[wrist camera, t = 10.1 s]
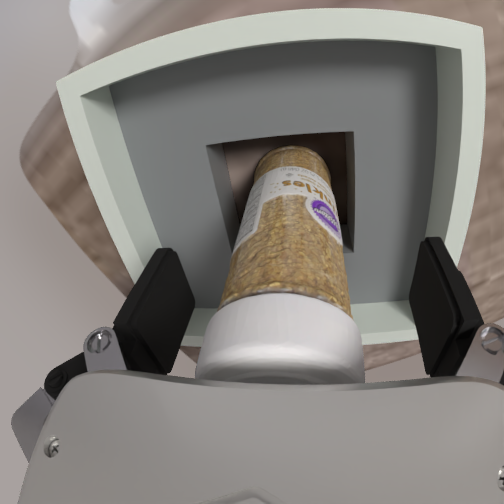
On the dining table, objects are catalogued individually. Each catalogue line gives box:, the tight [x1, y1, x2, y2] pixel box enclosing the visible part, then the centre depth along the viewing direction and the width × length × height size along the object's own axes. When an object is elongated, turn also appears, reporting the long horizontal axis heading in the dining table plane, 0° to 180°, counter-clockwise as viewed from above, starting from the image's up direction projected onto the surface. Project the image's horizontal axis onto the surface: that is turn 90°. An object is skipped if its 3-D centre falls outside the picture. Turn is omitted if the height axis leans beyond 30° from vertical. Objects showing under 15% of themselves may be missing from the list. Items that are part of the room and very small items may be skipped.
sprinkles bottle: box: [195, 145, 365, 385], centre depth 12 cm, size 5×5×14 cm
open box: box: [56, 8, 486, 347], centre depth 16 cm, size 18×18×6 cm
